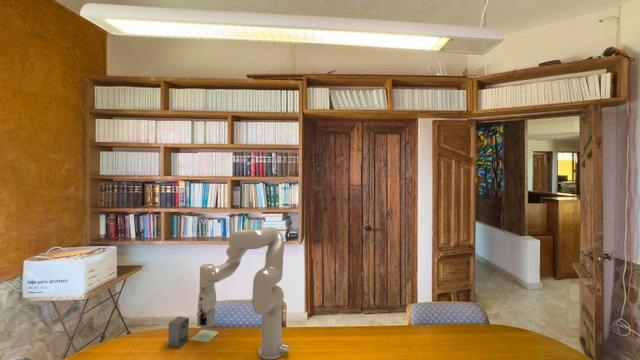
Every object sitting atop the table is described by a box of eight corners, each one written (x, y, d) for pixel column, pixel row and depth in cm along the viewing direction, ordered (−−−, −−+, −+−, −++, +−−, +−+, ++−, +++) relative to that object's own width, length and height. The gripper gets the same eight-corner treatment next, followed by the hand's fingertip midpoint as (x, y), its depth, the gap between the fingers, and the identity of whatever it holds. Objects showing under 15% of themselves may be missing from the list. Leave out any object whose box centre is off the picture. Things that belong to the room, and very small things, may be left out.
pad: (218, 332, 157) (218, 332, 157) (207, 342, 147) (207, 341, 147) (202, 330, 159) (202, 329, 159) (190, 339, 149) (190, 339, 149)
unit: (188, 341, 148) (189, 318, 148) (179, 349, 141) (179, 324, 141) (178, 339, 149) (178, 316, 150) (167, 347, 143) (168, 322, 143)
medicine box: (215, 323, 155) (215, 307, 155) (211, 327, 150) (211, 311, 150) (201, 322, 155) (201, 306, 155) (197, 326, 151) (197, 310, 151)
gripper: (202, 294, 144) (202, 331, 144) (222, 283, 160) (222, 316, 160) (190, 293, 146) (189, 329, 145) (210, 282, 162) (210, 314, 162)
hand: (206, 322), depth 153 cm, fingers closed on medicine box, 4 cm apart
